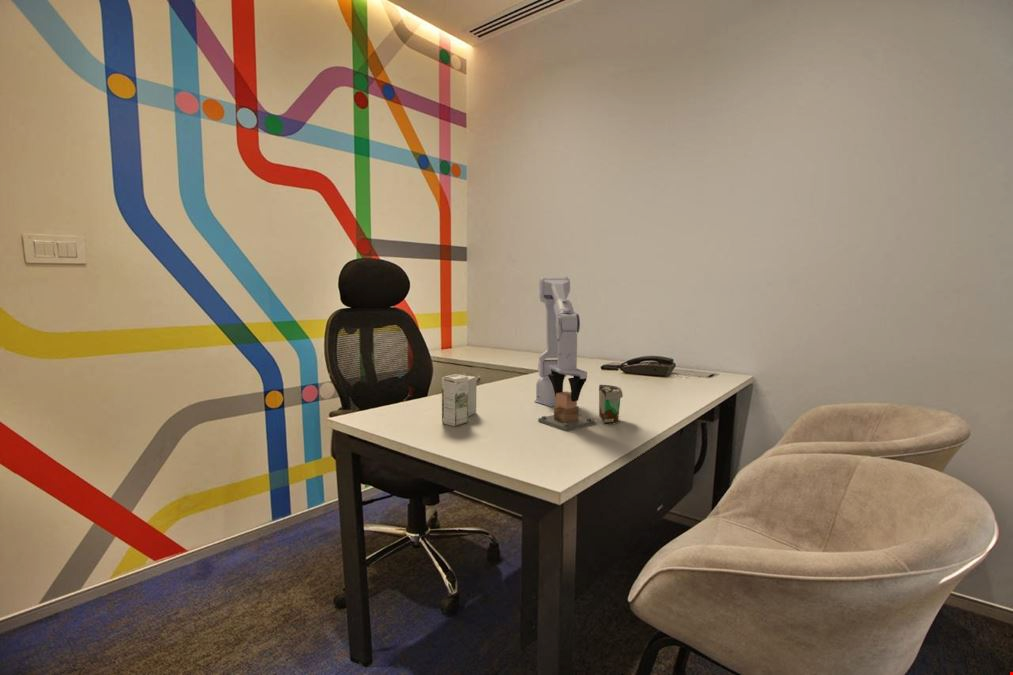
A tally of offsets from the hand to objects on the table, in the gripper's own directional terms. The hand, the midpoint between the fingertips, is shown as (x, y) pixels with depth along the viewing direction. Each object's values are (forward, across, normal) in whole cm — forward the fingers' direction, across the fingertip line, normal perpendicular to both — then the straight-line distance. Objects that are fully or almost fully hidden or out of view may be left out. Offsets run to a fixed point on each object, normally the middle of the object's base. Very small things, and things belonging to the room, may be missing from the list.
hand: (566, 398), depth 147 cm
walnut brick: (+6, 0, 0) cm, 6 cm away
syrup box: (+8, -20, -27) cm, 34 cm away
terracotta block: (+2, 0, 0) cm, 2 cm away
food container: (+8, +7, +13) cm, 16 cm away
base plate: (+7, 0, 0) cm, 7 cm away
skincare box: (+8, -26, -19) cm, 33 cm away
